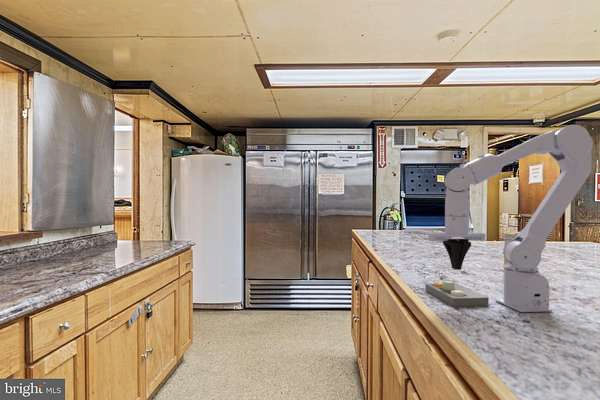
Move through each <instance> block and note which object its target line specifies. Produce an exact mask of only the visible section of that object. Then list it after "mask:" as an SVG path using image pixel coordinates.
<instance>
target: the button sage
mask: <svg viewBox="0 0 600 400" xmlns="http://www.w3.org/2000/svg"><path fill="white" fill-rule="evenodd" d="M455 283H456V282H454V281H450V280H443V281H442V290H443V291H445V292H451V291H452V290H455Z"/></svg>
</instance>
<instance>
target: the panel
mask: <svg viewBox="0 0 600 400" xmlns="http://www.w3.org/2000/svg"><path fill="white" fill-rule="evenodd" d="M454 283H455V290H459V291H463V292H464V296H453V295H451V292H445V291H443V290H442V287H439V288H437V287H435V286H434V283H425V286H424V287H425V288H424V289H425V291H424V292H426V293H427V294H430V295H432V296H434V297H435V298H437V299H439V300H440V301H442V302H444V303H446V304H447V305H450V306H451V307H454V308H457V307H461V306H462V307H489V297H488V296H486V295H483V294H481V293H479V292H477V291H475V290H472V289H470V288H467V287H465V286H464V285H463V286H462V285H461V284H458V283H457V282H454Z"/></svg>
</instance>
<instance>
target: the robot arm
mask: <svg viewBox="0 0 600 400" xmlns="http://www.w3.org/2000/svg"><path fill="white" fill-rule="evenodd" d="M593 146H594V141H593V139H592V137H591V135H590V133H589V131H588V130H587V129H586V128H585V127H583V126H581V125H578V124H570V125H566V126H564V127H562V128H561V129H559V130H558V129H555V130H552V131H548V132H546V133H542V134H540V135H537V136H535V137H532V138H530V139H529V140H526V141H524V142H522V143H521V144H517V145H516V146H514V147H512V148H510V149H508V150H506V151H504V152H502V153H500V154H498V155H497V154H495V155H494V154H491V153H487V154H484V153H481V154H479V155H478V156H477V159H473V160H471V161H469V162H468V163H461V164H459V167H455V168H453V169H452V170H450V171H449V172H448V173H447V174H446V176H445V178H444V186H445V188H446V189H445V199H444V200H445V201H444V203H445V204H444V231H443V232H428V237H427V238H428V239H427V240H428V241H430V242H441V241H442V244H443V246H444V248H445V250H446V252H447V254H448V257H449V260H450V264H451V268H452V269H453V270H457V271H458V270H459V271H460V270H462V266H463V263H464V260H465V257H466V255H467V254H468V251H469V250H470V249H471V247H472V242H471V241H482V242H486V233H484V232H470V197H469V187H471V185H473V186H475V185H478V184H480V183H483V182H484V181H487V180H489V179H491V178H494V177H496V176H498V175H500V174H501V172H502V169H503V168H504V167H505V166H508V165H510V164H512V163H514V162H517V161H520V160H522V159H524V158H527V157H529V156H531V155H533V154H538V155H547V154H549V155H550V156H551V158H553V159H554V160H555V161H556V162H557V165H558V167H559V169H560V171H561V172H560V174H559V175H558V177H557V179H556V180H555V181H554V182H553V184H552V186H551V187H550V189H549V190H548V192H547V193H546V195H545V196H544V197H543V199H542V201H541V202H540V204H539V206H538V207H537V208H536V210H535V211H534V213H533V214H532V216H531V217H530V219H529V220H528V222H527V223H526V225H525V226H524V227H523V229H522V230H520V231H518V232H519V233H518V234H517V236H516V237H515V238H514V239H513V240H511V241H509V242H508V243H507V244H506V245H505V244H504V245H505V246H504V247H503V251H502V254H503V258H504V257H505V258H506V259H507V260H508V261H507V263H506V264H505V265H504V264H503V298H496V299H495V302H497V303H499V304H502V305H504V306H505V307H506V306H507V307H509V308H511V309H513V310H515V311H517V312H520V313H531V312H532V313H534V312H535V313H538V312H539V313H540V312H553V308H550V283H549V280H548V278H547V277H546V276H544V275H543V274H541V273H540V272H539V267H538V266H539V265H540V264H541V261H542V252H543V251H544V250H545V248H546V244H547V243H546V242H547V239H548V237H549V235H550V234H551V232H552V231H553V229H554V228H555V226H556V225H557V223H558V222H559V220H560V219H561V217H562V216H563V215H564V213H565V211H566V210H567V208H568V207H569V206H570V204H571V202H572V201H573V200H574V198H575V197H576V195H577V194H578V192H579V191H580V190H581V188H582V186H583V185H584V183H586V180H587V179H588V177H589V176H590V174H591V172H592V149H593Z"/></svg>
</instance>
